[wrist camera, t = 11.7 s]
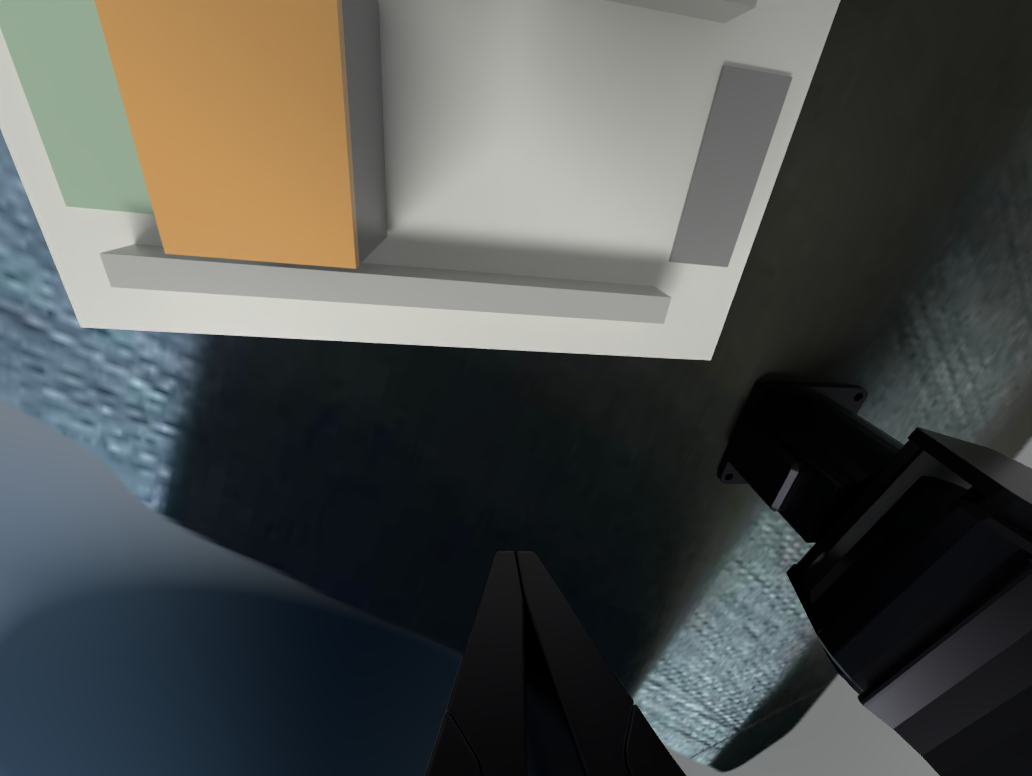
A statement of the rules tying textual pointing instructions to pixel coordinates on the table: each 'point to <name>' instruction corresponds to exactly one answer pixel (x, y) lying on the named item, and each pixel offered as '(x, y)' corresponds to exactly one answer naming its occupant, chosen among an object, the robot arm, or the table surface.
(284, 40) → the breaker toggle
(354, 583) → the table surface
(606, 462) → the table surface
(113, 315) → the white rail tray
